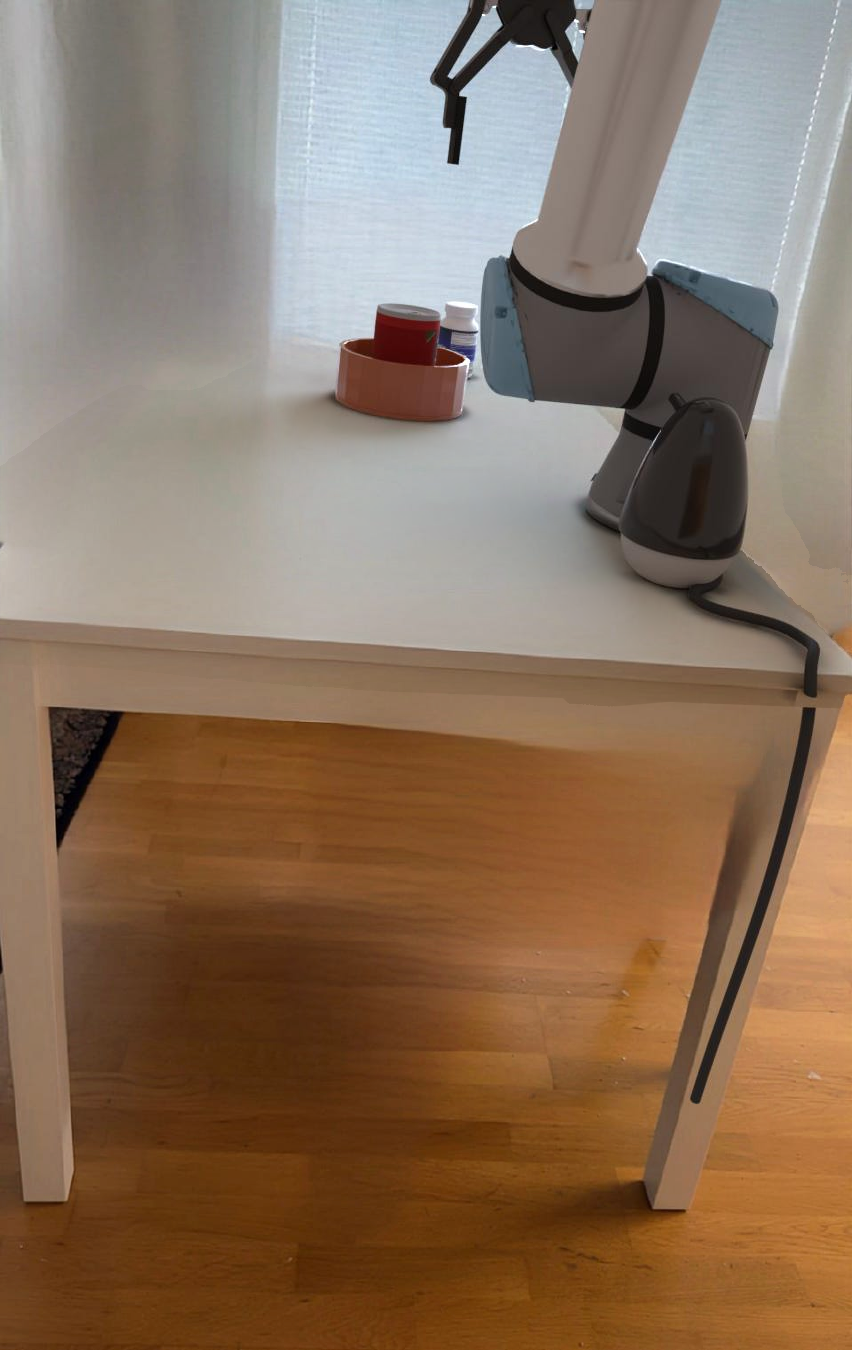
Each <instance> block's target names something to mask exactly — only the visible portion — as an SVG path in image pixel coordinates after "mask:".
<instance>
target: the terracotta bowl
mask: <svg viewBox="0 0 852 1350" xmlns="http://www.w3.org/2000/svg"><path fill="white" fill-rule="evenodd" d="M373 341H374V337H363V338H362V337H360V338H350V339H344V340H342V341H341V342H339V343H338V353H337V365H336V375H335V386H334V387H335V388H334V391H335V396H334V397H335V400H336V401H337V402H338V403H339V404H340V405H343V406H344V407H346V408H349V409H351V410H354V411H358V412H361V413H364V414H367V415H371V416H377V417H382V418H387V419H388V418H389V419H395V420H402V421H403V420H404V421H415V422H417V421H418V422H437V421H438V422H439V421H447V420H452V419H456V418H458V417H460V416H461V415H462V413H463V408H464V405H465V397H466V390H467V385H468V384H467V383H468V378H467V377H468V370H469V362H470V360H469V359H468V358H467V357H466V356H464V355H462V354H460V353H458V352H455V351H452V350H449V349H445V348H442V347H438V346H437V354H436V362H435V366H423V365H413V364H403V363H396V362H390V361H384V360H379V359H375V358H372V352H373Z"/></svg>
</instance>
